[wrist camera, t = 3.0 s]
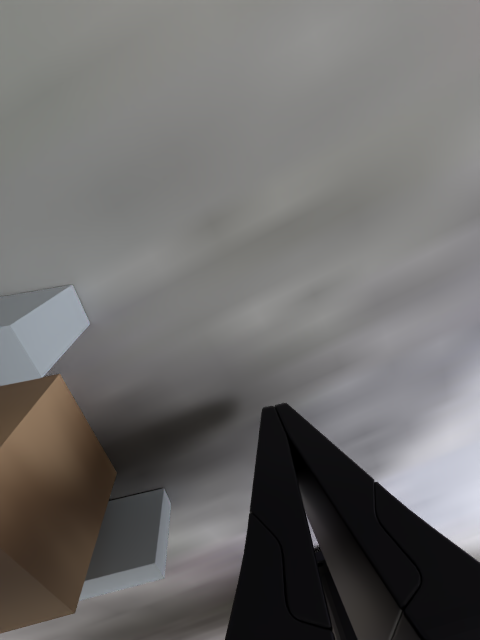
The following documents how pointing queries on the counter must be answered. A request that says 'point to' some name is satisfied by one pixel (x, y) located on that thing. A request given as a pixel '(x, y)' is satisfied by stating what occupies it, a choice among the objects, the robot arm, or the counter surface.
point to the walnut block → (47, 501)
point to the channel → (121, 514)
